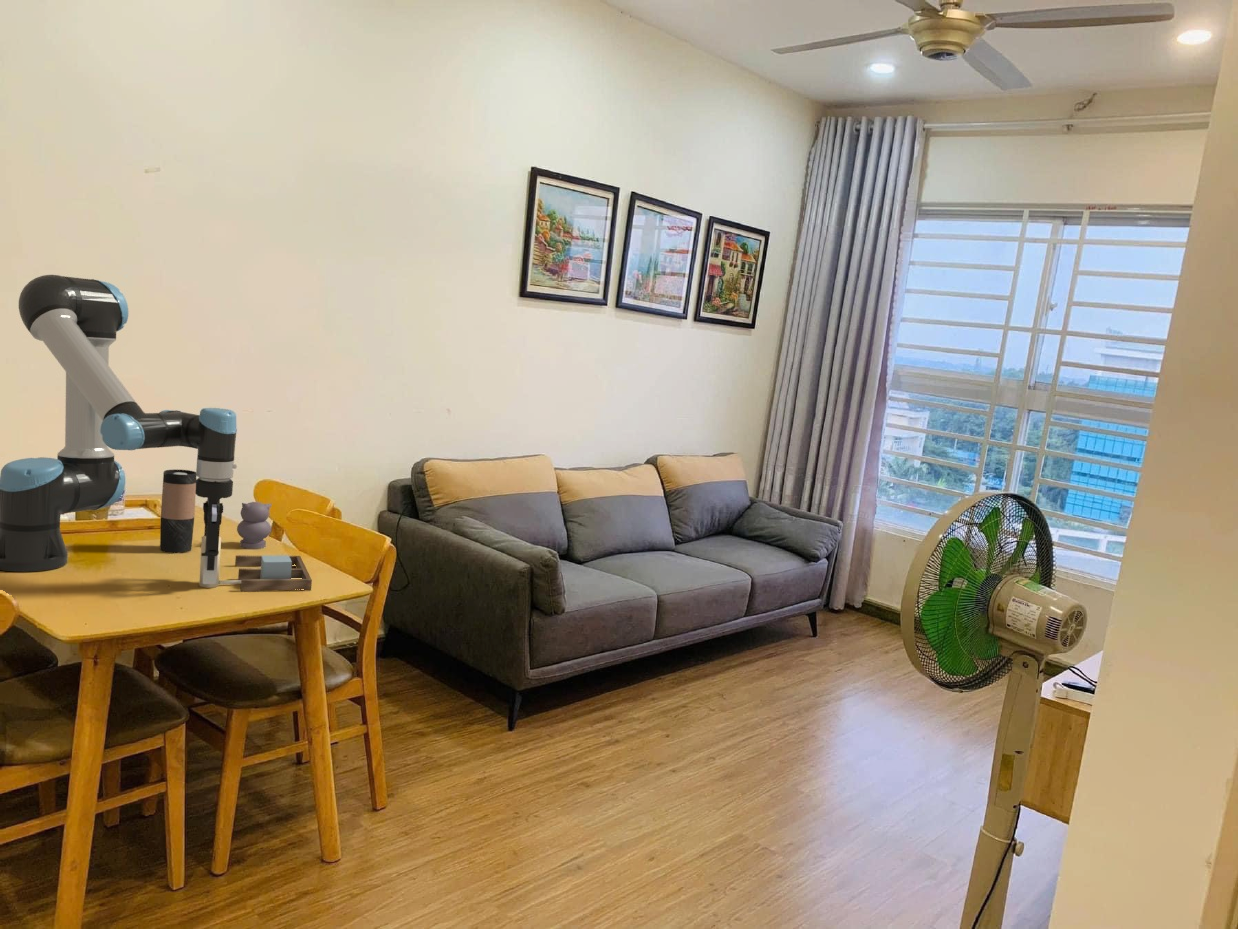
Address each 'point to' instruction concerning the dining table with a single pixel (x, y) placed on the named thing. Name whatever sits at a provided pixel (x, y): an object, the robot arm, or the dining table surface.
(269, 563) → the tethered block
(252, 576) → the lane rack
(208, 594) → the dining table surface
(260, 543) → the cat figurine
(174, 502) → the travel mug
